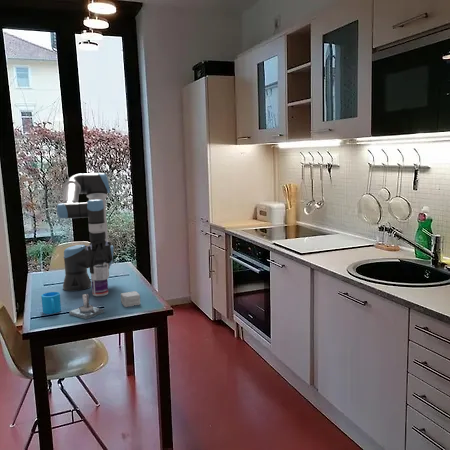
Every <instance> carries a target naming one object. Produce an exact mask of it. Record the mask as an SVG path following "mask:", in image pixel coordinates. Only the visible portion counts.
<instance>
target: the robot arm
mask: <svg viewBox="0 0 450 450" xmlns="http://www.w3.org/2000/svg"><path fill="white" fill-rule="evenodd" d="M109 183H110V182H109V179H108V175H107V173H105V172H88V173H81V172H80V173H76V174H73V175H71V176H70V177H68V178H66V179H65V181H64V182H63V184H62V191H63V198H62V203H57V204H56V214H57V215H56V216H57V218H58V219H60V220H62V219H65V220H68V219H80V218H82V219H84V218H88V232H89V233H88V235H89V236H88V237H89V242H90V243H89V244H88V245H85V244H77V245H72V246H69V247H66V248H65V249H64V251H63V259H64V274H65V275H64V279H63V283H62V289H63V290H64V291H68V292H76V291H77V292H78V291H83V290H87V289H89V288H92V281H91V279H92V280H96V267H94V266H95V265H108V277H110V267H111V266H112V265H113V259H114V245H113V244H112V242H111V241H110V240H109V239H108V238H109V237H108V235H109V234H108V224H107V223H108V222H107V207H106V205H107V204H106V199H107V197H108V194H109V193H111V190H110V189H111V188H110V184H109ZM83 194H84V195H86V198H87V199H88V200H87V201H86V202H79V196H80V195H83ZM88 269H89V273H90V276H89V273H88Z"/></svg>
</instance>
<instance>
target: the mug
mask: <svg viewBox="0 0 450 450" xmlns="http://www.w3.org/2000/svg"><path fill="white" fill-rule="evenodd" d="M40 296H41V305H42V306H41V308H42V313H43V314H46V315H51V314H53V315H54V314H57V313H60V312H61V311H62V304H61V303H62V302H61V292H58V291H48V292H45V293H43V294H41V295H40Z"/></svg>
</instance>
